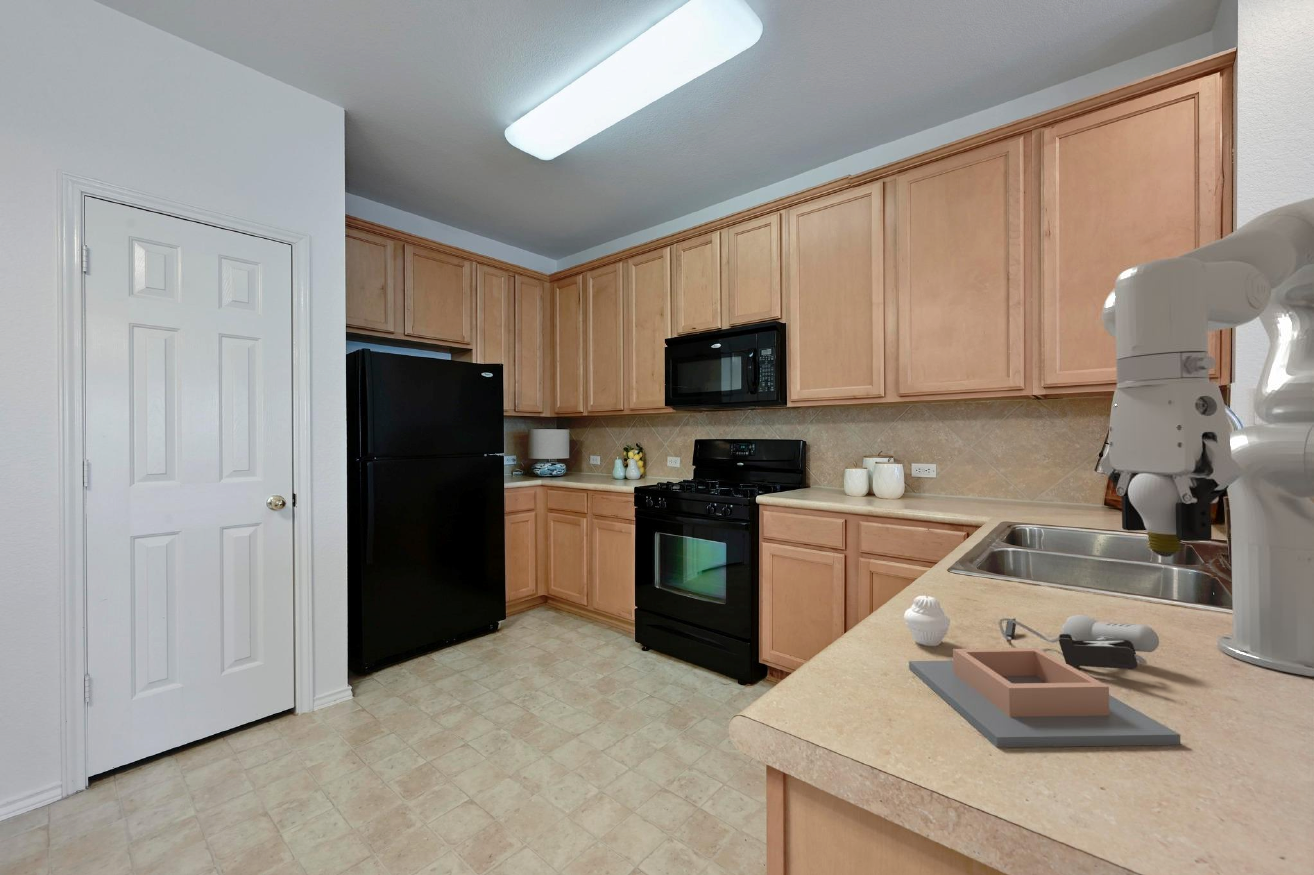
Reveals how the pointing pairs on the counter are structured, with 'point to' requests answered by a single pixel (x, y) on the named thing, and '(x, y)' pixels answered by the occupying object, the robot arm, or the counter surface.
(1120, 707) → the holder board
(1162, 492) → the light bulb
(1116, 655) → the clip-on lamp
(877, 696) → the counter surface
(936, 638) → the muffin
